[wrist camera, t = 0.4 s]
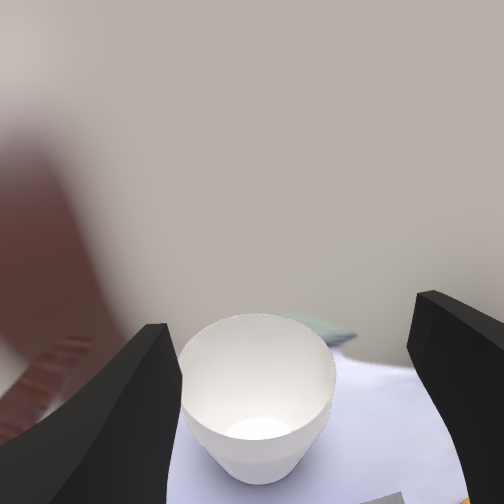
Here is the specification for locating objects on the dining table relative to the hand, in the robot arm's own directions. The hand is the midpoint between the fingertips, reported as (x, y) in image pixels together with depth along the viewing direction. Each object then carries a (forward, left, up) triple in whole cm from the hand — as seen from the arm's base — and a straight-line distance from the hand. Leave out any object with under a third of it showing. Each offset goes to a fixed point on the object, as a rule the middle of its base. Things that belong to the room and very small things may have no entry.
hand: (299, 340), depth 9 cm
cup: (+5, +1, -19) cm, 20 cm away
